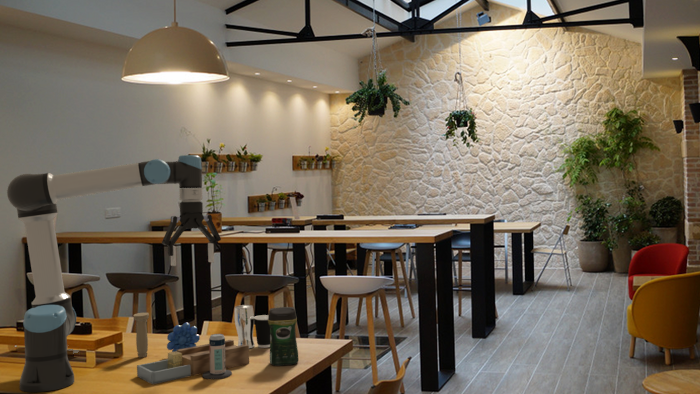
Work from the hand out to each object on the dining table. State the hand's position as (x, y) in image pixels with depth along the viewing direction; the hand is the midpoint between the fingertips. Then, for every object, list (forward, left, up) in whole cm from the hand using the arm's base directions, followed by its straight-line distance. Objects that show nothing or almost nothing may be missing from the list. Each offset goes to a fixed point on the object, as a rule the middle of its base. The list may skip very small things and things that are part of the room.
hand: (192, 264), depth 225 cm
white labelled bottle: (-2, -20, -33) cm, 39 cm away
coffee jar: (+21, -23, -34) cm, 45 cm away
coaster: (-2, -20, -33) cm, 39 cm away
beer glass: (+23, +5, -33) cm, 41 cm away
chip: (-10, -9, -31) cm, 34 cm away
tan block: (-11, -9, -30) cm, 33 cm away
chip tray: (-15, -9, -33) cm, 38 cm away
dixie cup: (+28, +2, -33) cm, 44 cm away
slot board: (+2, -9, -33) cm, 34 cm away
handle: (-10, +20, -34) cm, 40 cm away
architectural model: (-27, +39, -34) cm, 59 cm away
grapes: (+1, +10, -34) cm, 35 cm away
